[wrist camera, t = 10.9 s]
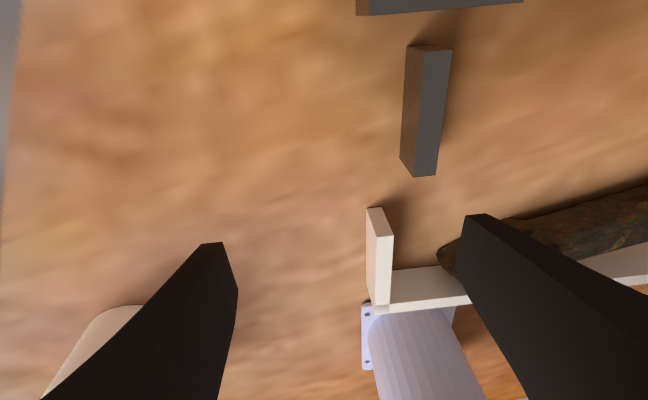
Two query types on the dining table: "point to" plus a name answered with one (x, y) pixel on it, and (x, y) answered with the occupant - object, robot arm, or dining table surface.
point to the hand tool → (581, 227)
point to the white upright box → (94, 339)
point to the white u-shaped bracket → (444, 290)
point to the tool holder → (422, 83)
